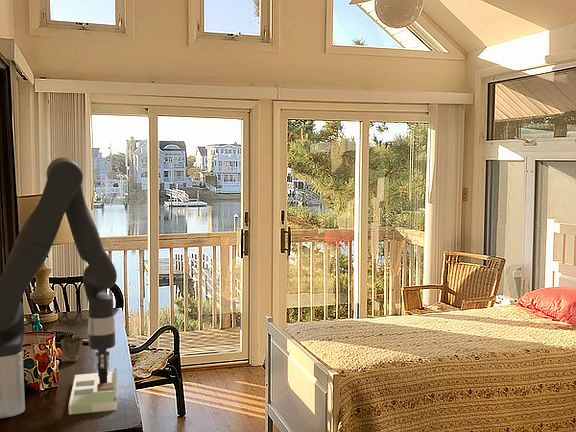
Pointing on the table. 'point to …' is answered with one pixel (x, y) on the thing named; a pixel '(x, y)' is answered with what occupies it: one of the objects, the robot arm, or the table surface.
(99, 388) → the walnut block
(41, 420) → the table surface
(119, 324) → the table surface
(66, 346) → the cup
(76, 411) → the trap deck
